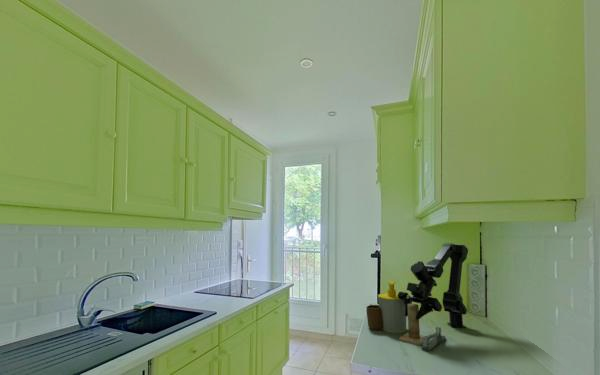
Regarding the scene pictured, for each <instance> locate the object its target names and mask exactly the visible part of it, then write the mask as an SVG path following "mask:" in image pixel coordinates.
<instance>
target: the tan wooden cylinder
mask: <svg viewBox="0 0 600 375" xmlns="http://www.w3.org/2000/svg"><path fill="white" fill-rule="evenodd" d="M407 306H408V316H407V325H408V327H407V328H408V332H409V337H410V338H413V339H419V338H420V335H421V334H420V333H421V332H420V319H418V320H417V319H416V316H417V314H418V311H419V309H420V307H419V304H418V303H412V304H407Z"/></svg>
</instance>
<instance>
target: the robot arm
mask: <svg viewBox="0 0 600 375" xmlns="http://www.w3.org/2000/svg"><path fill="white" fill-rule="evenodd" d="M468 253H469V249H468V247H467V246H466V245H465V244H455V243H451V242H450V243H447V242H445V243H442V247H441V248H440V249H439V251H438V253H436V256H435V257H434V258H433V259H432V260H430V261H427V262H426V263H425V264H424V262H423V261H422V260H419V261H417V262H415V263H414V264H413V265H411V267H410V272H411V273H412V274H413V276H414V277H415V279H417V281H419V283H413V282H407V286H406V290H407V291H409V292H410V294H411V295H409V293H408V292H406V291H399V292H398V293H397V294H398V295H397V296H398V298H399V299H401V300H404V304H405V316H406V318H408V306H407V304H413V303H415V304H420V307H419V311H418V314H417V316H416V319H417V320H418V319H419V320H420V319H422V318H423V317H424V316H426V315H427V314H429V313H431V312H434V311H435V312H442V309H443V310H444V312H448V316H449V317H448V318H449V322H447V323H446V324H447V325H448V326H450V327H452V328H467V325H465V324H464V321H463V320H464V319H463V315H466V314H467V311H468V309H467V307H466V305H465V303H464V299H463V296H462V294H461V292H460V290H461V282H462V269H463V263H464V262H465V261H466V260H467V256H468ZM449 258H450V261H451V262H450V270H449V281H448V289H447V290H446V291H444V292H443V295H442V301H441V302H442V304H441V302H440V301H439V299H438V298H437V297H432V295H433V294H432V290H433V288H434V287H438V283H437V280H435V279H439V278H441V276H442V275H443V273H444V265H445V264H446V263H447V261H448V259H449ZM434 278H435V279H434Z"/></svg>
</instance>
